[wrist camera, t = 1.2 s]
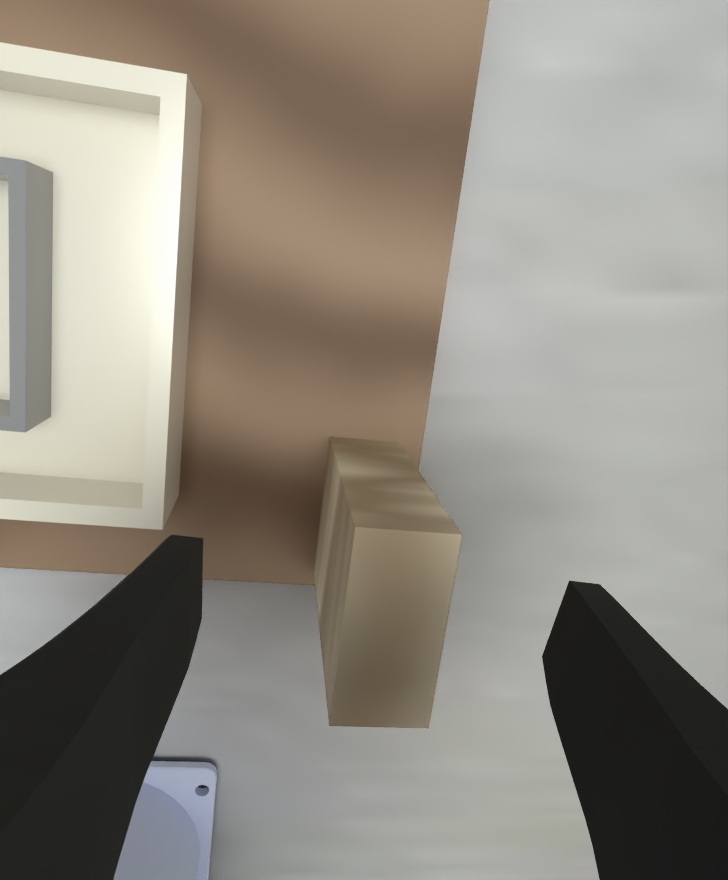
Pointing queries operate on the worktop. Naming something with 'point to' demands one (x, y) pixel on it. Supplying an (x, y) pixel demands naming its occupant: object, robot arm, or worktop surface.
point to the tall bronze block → (381, 585)
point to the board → (288, 252)
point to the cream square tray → (94, 286)
